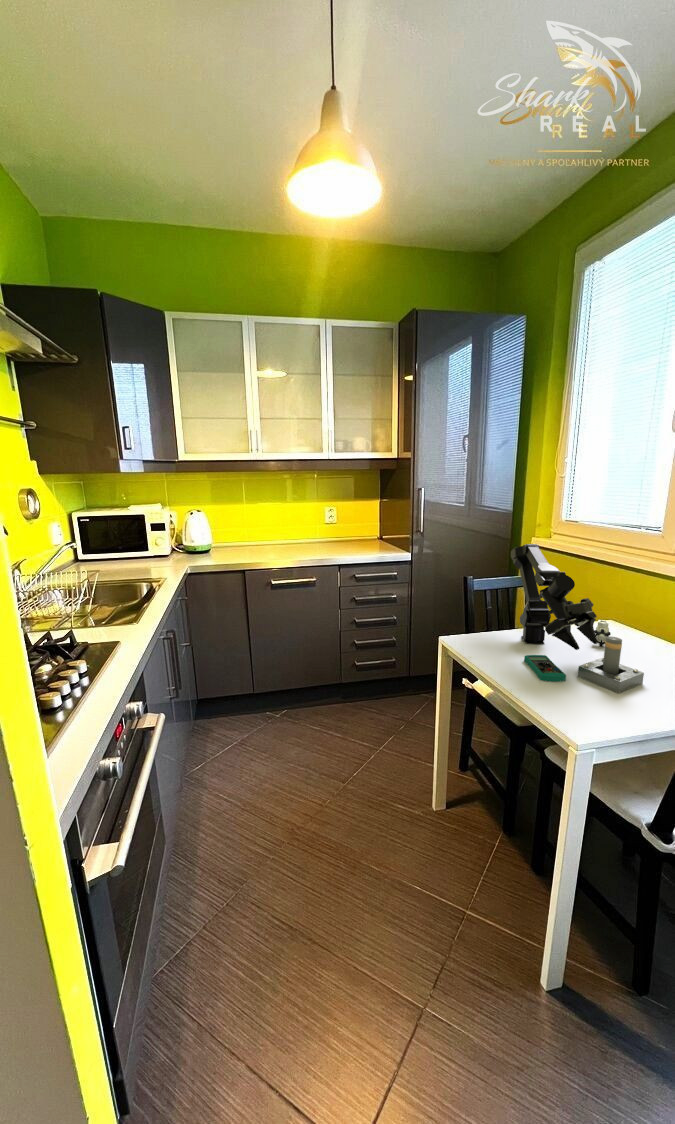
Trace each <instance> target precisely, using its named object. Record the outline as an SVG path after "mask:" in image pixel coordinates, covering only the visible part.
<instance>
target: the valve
mask: <svg viewBox="0 0 675 1124" xmlns="http://www.w3.org/2000/svg"><path fill="white" fill-rule="evenodd" d="M594 632H595V635H596V639H597V642H598V643H597V644H599V645H598V646H599V647H600V648H601V647H602V648H603V647H604V645H605V640H606V637H609V636H611V635H612V633H611V632H610V628H609V621H608V620H603V619H602V620H601V619H598V620H597V626H596V628H595V629H594ZM598 639H599V640H600V641H599V640H598Z"/></svg>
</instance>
